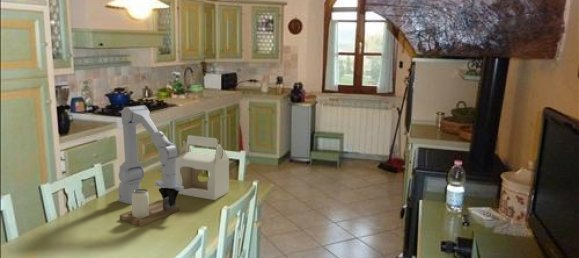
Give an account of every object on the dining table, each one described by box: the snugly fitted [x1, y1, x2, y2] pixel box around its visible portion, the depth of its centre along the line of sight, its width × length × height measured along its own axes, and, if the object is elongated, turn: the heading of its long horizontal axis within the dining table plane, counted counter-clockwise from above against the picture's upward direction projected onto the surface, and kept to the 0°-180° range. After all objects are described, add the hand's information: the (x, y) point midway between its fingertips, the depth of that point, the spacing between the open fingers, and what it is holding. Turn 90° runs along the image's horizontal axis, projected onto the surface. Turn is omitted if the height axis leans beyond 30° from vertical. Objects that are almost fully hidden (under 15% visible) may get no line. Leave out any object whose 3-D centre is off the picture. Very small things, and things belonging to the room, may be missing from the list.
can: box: [131, 188, 150, 219], centre depth 182 cm, size 6×6×12 cm
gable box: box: [176, 134, 230, 201], centre depth 215 cm, size 22×13×28 cm, turn 68°
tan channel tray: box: [119, 197, 180, 227], centre depth 186 cm, size 12×21×7 cm, turn 150°
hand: (169, 204), depth 189 cm, fingers closed on tan channel tray, 2 cm apart
